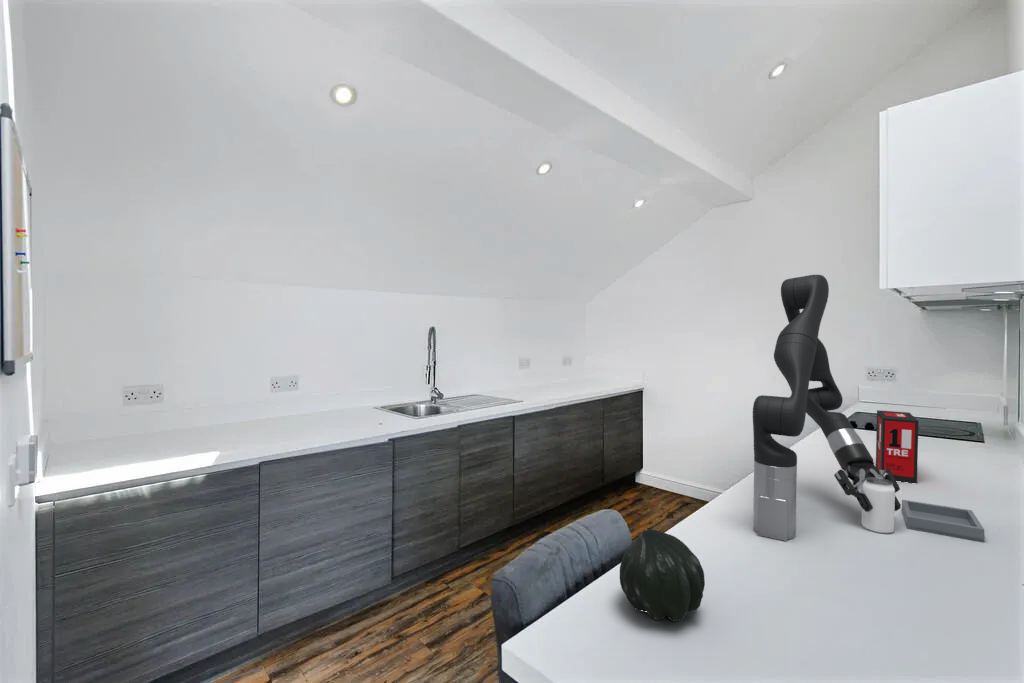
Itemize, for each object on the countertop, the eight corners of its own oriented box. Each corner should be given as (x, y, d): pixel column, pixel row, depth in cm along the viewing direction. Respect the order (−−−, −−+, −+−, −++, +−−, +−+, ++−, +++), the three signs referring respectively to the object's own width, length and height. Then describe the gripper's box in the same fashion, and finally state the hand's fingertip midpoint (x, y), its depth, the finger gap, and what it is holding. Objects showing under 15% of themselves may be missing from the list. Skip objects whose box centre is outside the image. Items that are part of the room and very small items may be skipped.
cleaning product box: (916, 484, 155) (918, 420, 154) (881, 479, 160) (883, 418, 159) (907, 470, 169) (909, 412, 169) (875, 466, 174) (876, 410, 173)
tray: (984, 542, 114) (984, 529, 114) (906, 528, 122) (907, 516, 122) (971, 521, 126) (971, 510, 126) (901, 510, 134) (901, 499, 134)
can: (880, 523, 126) (881, 476, 125) (901, 534, 119) (902, 484, 119) (855, 523, 125) (856, 476, 125) (874, 534, 119) (875, 485, 118)
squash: (732, 580, 88) (677, 505, 94) (700, 621, 77) (640, 534, 83) (675, 608, 96) (628, 537, 102) (639, 650, 85) (588, 567, 91)
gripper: (830, 442, 129) (863, 504, 117) (883, 441, 129) (921, 502, 118) (816, 457, 134) (846, 517, 123) (867, 456, 135) (902, 515, 123)
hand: (883, 509), depth 120 cm, fingers open, 6 cm apart
